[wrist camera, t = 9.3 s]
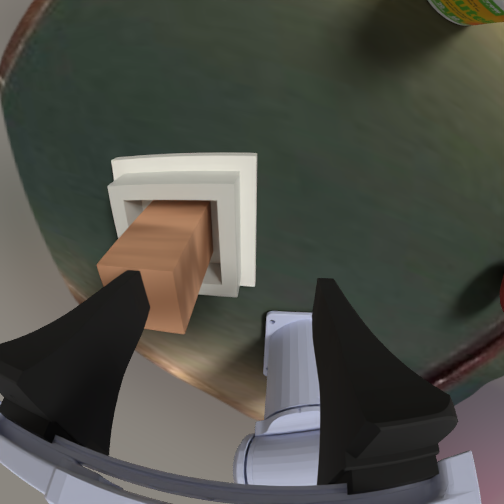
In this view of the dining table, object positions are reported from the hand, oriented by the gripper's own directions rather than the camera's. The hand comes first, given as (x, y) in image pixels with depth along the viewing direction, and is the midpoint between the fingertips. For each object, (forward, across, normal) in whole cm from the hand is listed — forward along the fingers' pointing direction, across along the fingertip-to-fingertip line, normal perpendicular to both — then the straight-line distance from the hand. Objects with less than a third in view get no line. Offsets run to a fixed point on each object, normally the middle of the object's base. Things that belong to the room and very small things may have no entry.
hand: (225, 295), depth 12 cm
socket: (+10, +4, +2) cm, 11 cm away
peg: (+9, +4, +2) cm, 10 cm away
